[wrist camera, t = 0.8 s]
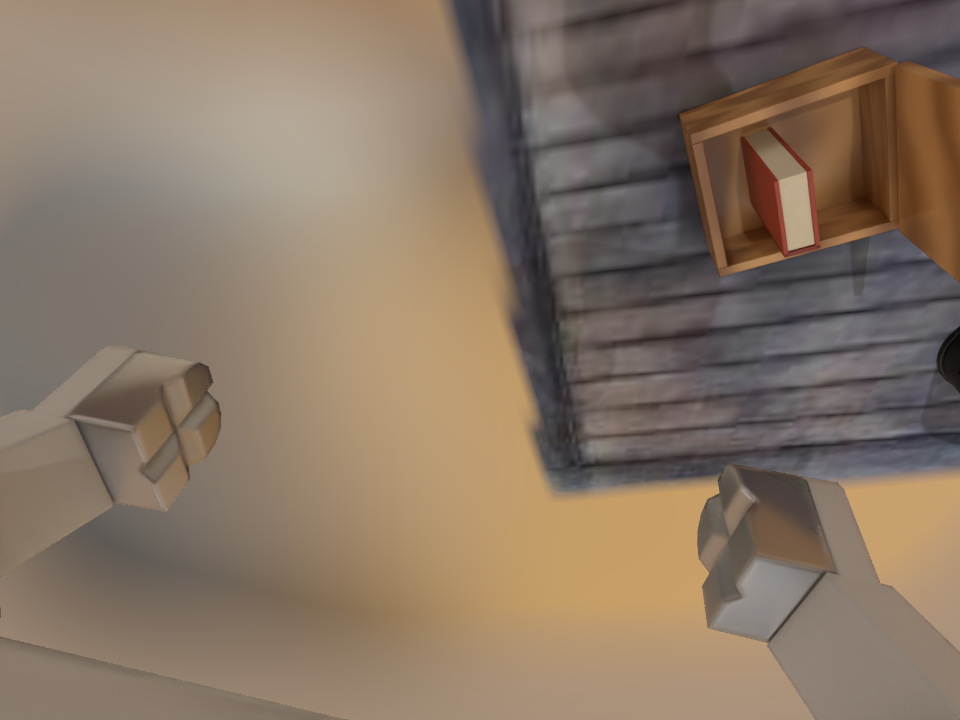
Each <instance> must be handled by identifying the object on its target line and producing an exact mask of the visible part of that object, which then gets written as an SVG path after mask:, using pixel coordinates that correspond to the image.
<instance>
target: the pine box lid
mask: <svg viewBox="0 0 960 720" xmlns="http://www.w3.org/2000/svg"><path fill="white" fill-rule="evenodd" d="M895 85H896V120H897V156H898V191H899V227H900V232H901V233H902V234H903V235H904V236H905V237H907V238H908V239H909V240H910V241H911V242H912V243H914V244H915V245H916V246H917V247H918V248H919V249H921V250H922V251H923V252H924V253H925V254H926V255H928V256H929V257H930V258H931V259H932V260H933V261H935V262H936V263H937V264H938V265H939V266H940V267H942V268H943V269H944V270H945V271H946V272H947V273H949V274H950V275H951V276H952V277H953V278H954V279H956V280H957V281H958V282H959V283H960V79H957V78H954V77H951V76H949V75H946V74H943V73H940V72H938V71H935V70H932V69H929V68H927V67H924V66H921V65H918V64H915V63H913V62H910V61H906V62H903V63H900V64H897V65H895Z"/></svg>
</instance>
